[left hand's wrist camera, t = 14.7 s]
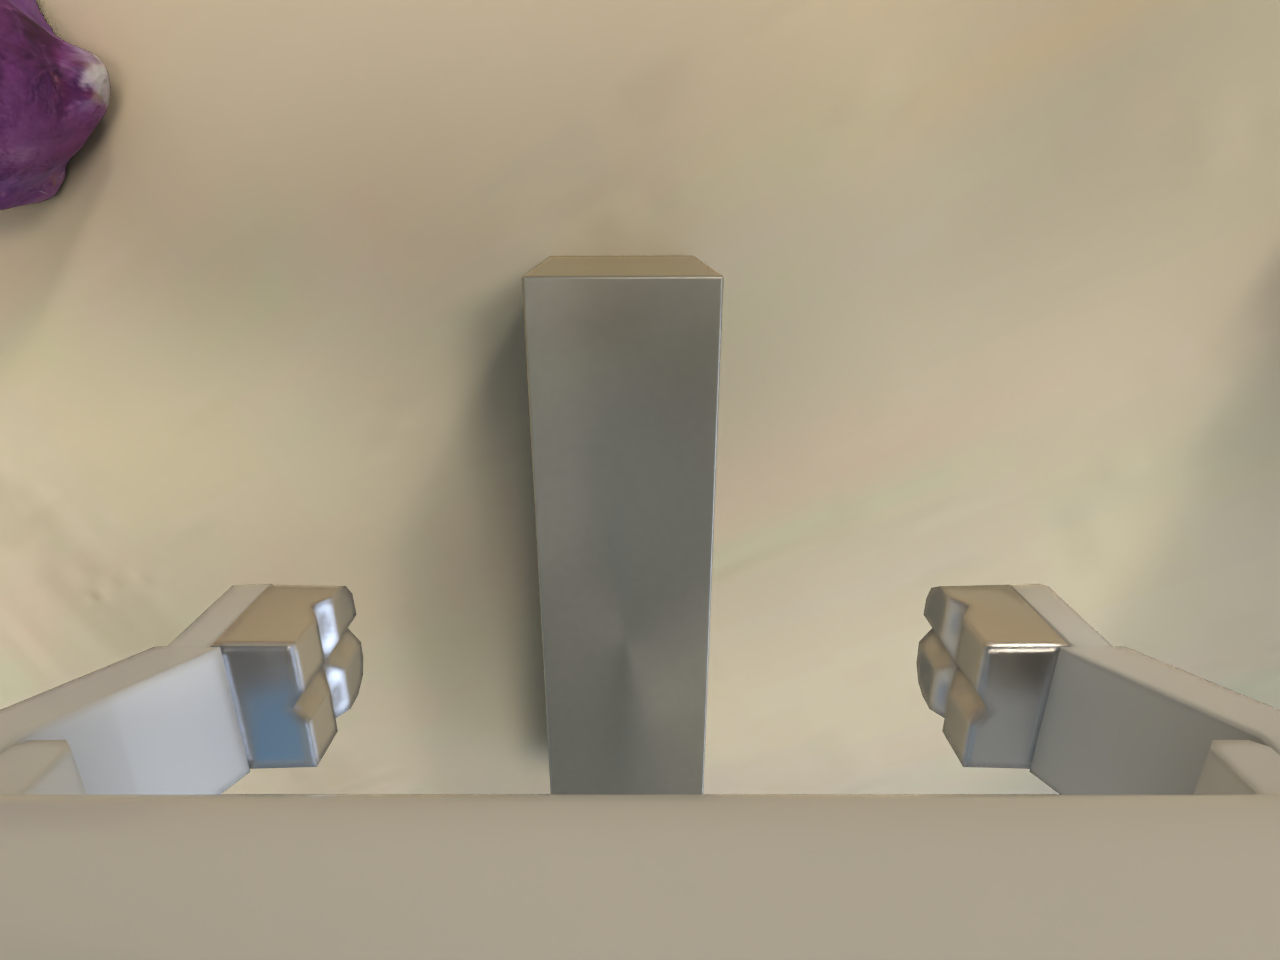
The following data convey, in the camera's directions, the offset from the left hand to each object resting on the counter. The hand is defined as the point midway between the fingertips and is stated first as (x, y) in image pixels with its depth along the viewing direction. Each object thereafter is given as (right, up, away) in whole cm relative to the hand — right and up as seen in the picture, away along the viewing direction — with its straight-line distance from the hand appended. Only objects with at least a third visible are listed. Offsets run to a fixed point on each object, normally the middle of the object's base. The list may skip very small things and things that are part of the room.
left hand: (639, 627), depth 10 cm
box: (-1, 0, +23) cm, 23 cm away
